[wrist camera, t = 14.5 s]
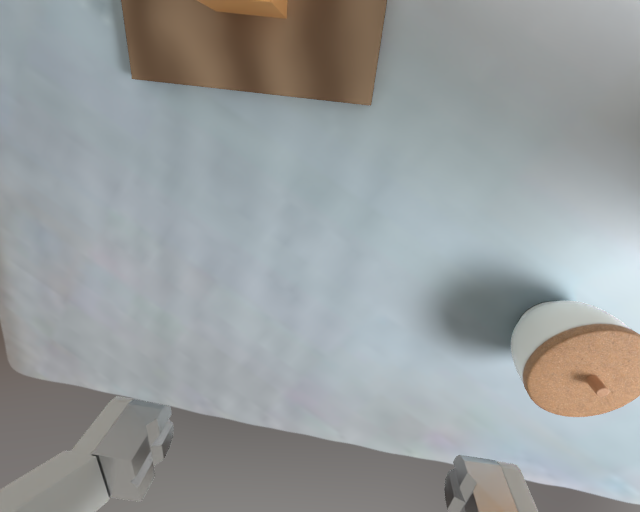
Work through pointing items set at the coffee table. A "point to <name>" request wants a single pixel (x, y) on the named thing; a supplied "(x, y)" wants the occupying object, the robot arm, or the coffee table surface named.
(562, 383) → the lidded jar
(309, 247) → the coffee table surface
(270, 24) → the post block
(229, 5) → the wooden toy cube
